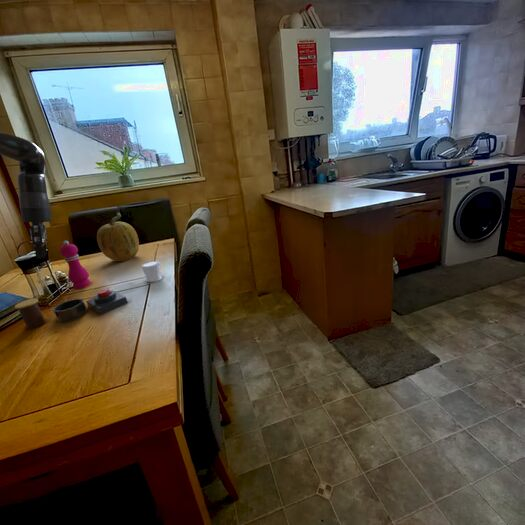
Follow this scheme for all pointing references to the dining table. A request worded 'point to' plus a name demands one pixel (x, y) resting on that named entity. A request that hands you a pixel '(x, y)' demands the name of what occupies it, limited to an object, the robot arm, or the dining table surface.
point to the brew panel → (106, 302)
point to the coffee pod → (31, 313)
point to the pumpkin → (118, 240)
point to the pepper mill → (74, 266)
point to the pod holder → (70, 310)
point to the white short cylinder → (152, 271)
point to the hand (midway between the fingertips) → (42, 256)
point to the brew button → (103, 293)
